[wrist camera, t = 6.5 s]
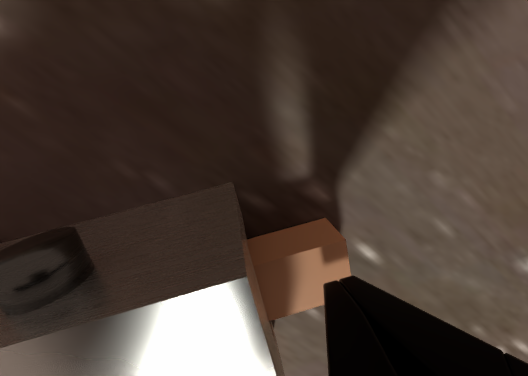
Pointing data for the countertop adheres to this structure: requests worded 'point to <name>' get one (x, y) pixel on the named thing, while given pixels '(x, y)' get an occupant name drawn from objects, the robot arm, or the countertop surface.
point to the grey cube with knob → (138, 295)
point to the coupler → (298, 266)
